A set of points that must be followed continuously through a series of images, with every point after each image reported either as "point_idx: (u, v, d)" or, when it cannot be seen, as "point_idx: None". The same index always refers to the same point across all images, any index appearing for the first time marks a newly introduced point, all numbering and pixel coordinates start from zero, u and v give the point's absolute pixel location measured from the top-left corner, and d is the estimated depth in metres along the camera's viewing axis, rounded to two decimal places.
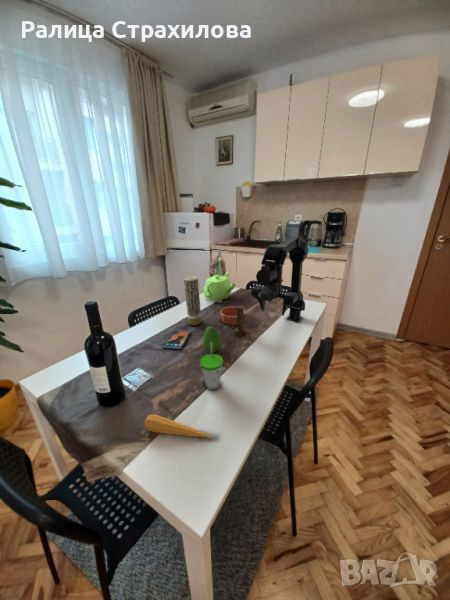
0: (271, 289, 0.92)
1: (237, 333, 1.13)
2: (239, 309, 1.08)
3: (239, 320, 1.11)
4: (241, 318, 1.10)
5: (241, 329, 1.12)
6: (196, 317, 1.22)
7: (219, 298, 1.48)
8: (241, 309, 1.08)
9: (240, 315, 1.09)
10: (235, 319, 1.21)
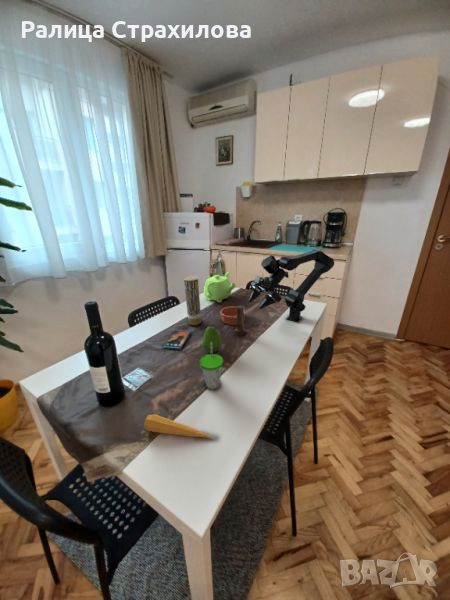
0: None
1: (237, 333, 1.13)
2: (239, 309, 1.08)
3: (239, 320, 1.11)
4: (241, 318, 1.10)
5: (241, 329, 1.12)
6: (196, 317, 1.22)
7: (219, 298, 1.48)
8: (241, 309, 1.08)
9: (240, 315, 1.09)
10: (235, 319, 1.21)
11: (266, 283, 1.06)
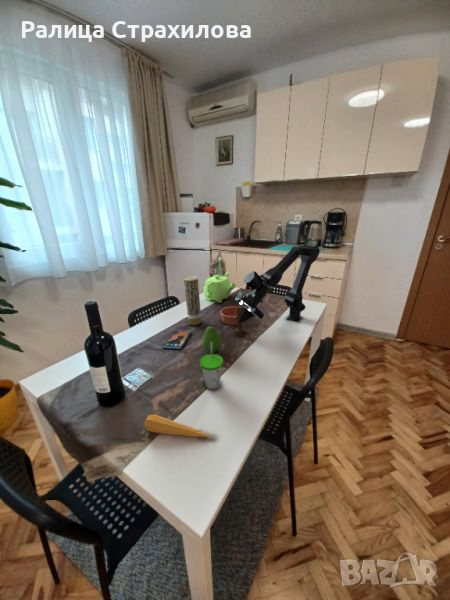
0: None
1: (237, 333, 1.13)
2: (239, 309, 1.08)
3: None
4: None
5: (241, 329, 1.12)
6: (196, 317, 1.22)
7: (219, 298, 1.48)
8: (241, 309, 1.08)
9: (240, 315, 1.09)
10: (235, 319, 1.21)
11: (248, 299, 1.05)
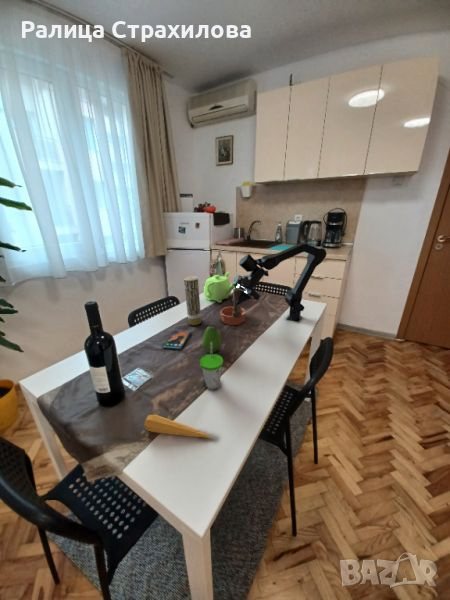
0: None
1: (234, 315, 1.16)
2: (236, 291, 1.11)
3: None
4: None
5: (238, 311, 1.15)
6: (196, 317, 1.22)
7: (219, 298, 1.48)
8: (238, 291, 1.12)
9: (237, 297, 1.13)
10: (235, 319, 1.21)
11: (245, 281, 1.08)
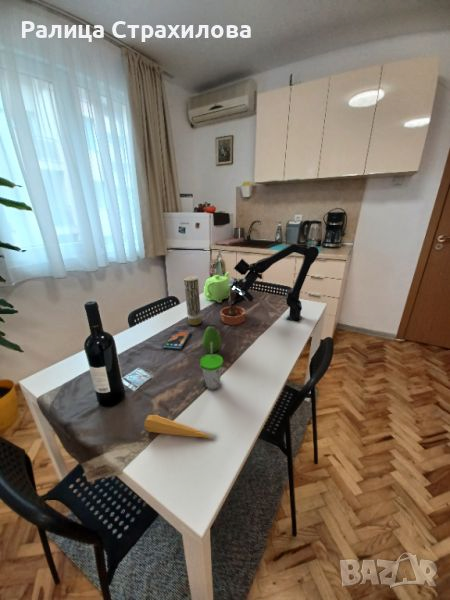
0: None
1: (230, 315, 1.25)
2: (231, 293, 1.21)
3: (231, 303, 1.23)
4: None
5: (233, 311, 1.25)
6: (196, 317, 1.22)
7: (219, 298, 1.48)
8: (233, 293, 1.21)
9: (233, 299, 1.22)
10: (235, 319, 1.21)
11: (239, 284, 1.17)
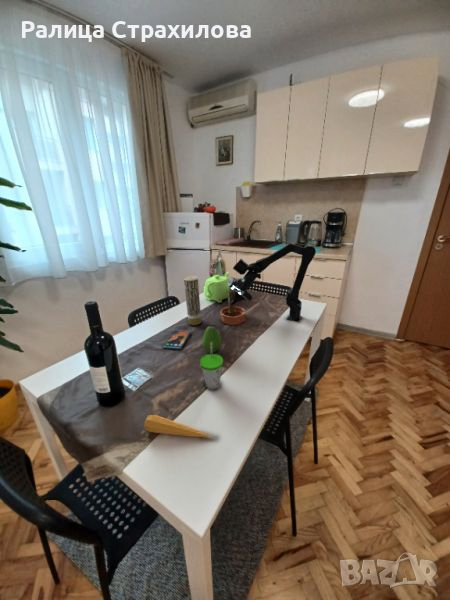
0: None
1: (229, 314, 1.27)
2: (230, 292, 1.23)
3: None
4: None
5: (232, 311, 1.27)
6: (196, 317, 1.22)
7: (219, 298, 1.48)
8: (232, 292, 1.23)
9: (232, 298, 1.24)
10: (235, 319, 1.21)
11: (238, 284, 1.19)
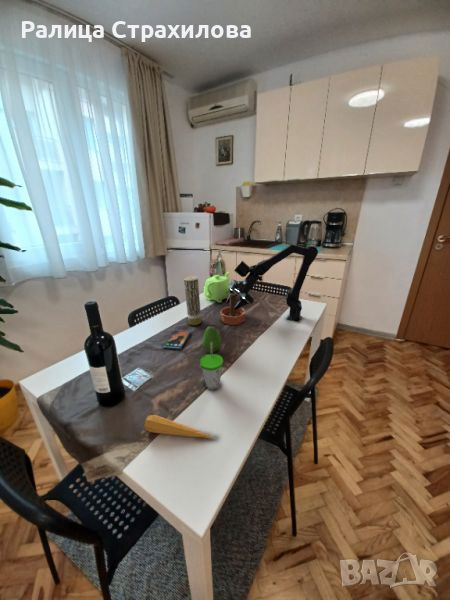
0: None
1: None
2: (232, 296, 1.22)
3: (232, 306, 1.24)
4: (233, 304, 1.23)
5: (234, 314, 1.25)
6: (196, 317, 1.22)
7: (219, 298, 1.48)
8: (233, 296, 1.22)
9: (233, 301, 1.23)
10: (235, 319, 1.21)
11: (240, 286, 1.18)
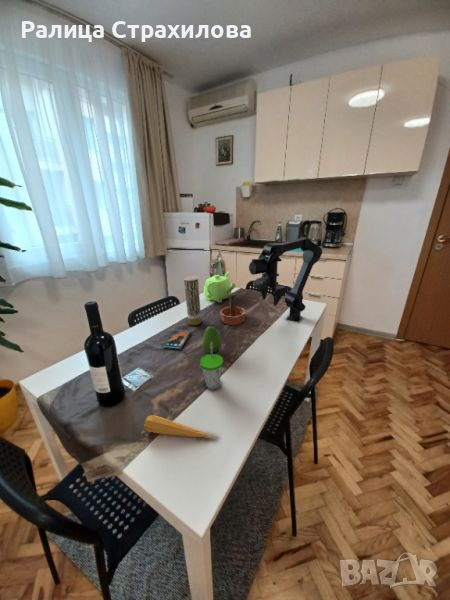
0: (262, 280, 1.08)
1: None
2: (232, 296, 1.22)
3: (232, 306, 1.24)
4: (233, 304, 1.23)
5: (234, 314, 1.25)
6: (196, 317, 1.22)
7: (219, 298, 1.48)
8: (233, 296, 1.22)
9: (233, 301, 1.23)
10: (235, 319, 1.21)
11: (265, 286, 1.06)
